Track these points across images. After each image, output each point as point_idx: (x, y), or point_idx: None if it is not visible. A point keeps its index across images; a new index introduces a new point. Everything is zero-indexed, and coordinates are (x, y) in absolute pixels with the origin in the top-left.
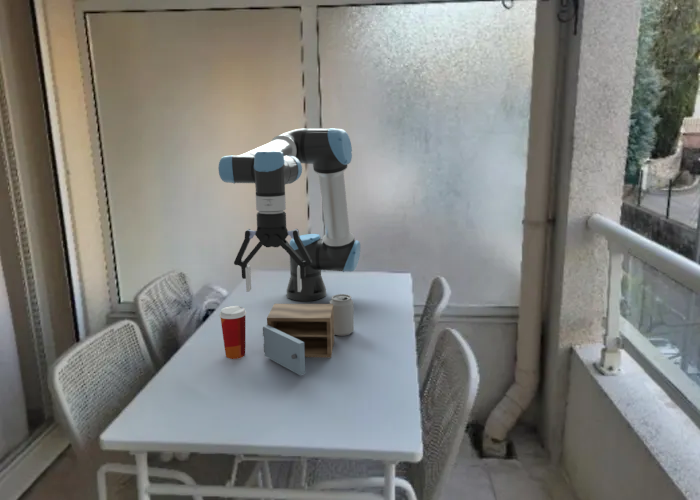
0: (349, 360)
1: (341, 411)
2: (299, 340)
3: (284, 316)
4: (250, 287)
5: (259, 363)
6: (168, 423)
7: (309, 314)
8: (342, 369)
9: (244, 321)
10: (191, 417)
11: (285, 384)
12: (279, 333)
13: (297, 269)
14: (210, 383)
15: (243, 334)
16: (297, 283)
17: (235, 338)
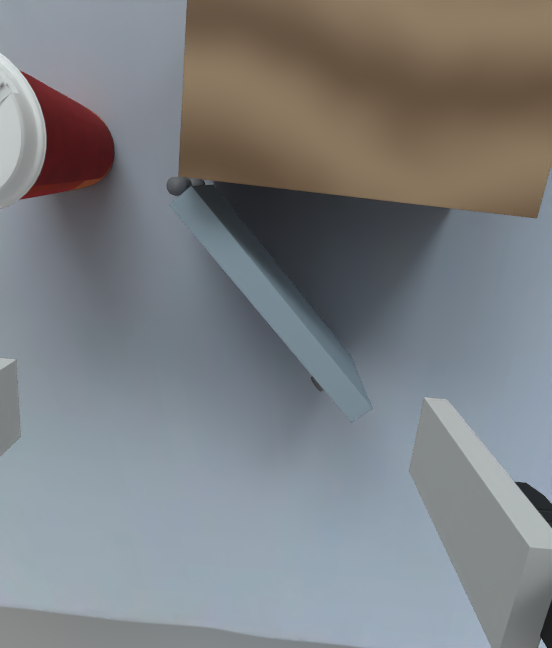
0: (517, 237)
1: (433, 537)
2: (352, 390)
3: (279, 164)
4: (6, 398)
5: (184, 233)
6: (14, 551)
7: (426, 141)
8: (478, 307)
9: (56, 153)
10: (60, 532)
11: (286, 392)
12: (260, 305)
13: (494, 638)
14: (51, 366)
15: (78, 166)
16: (431, 518)
17: (51, 193)
